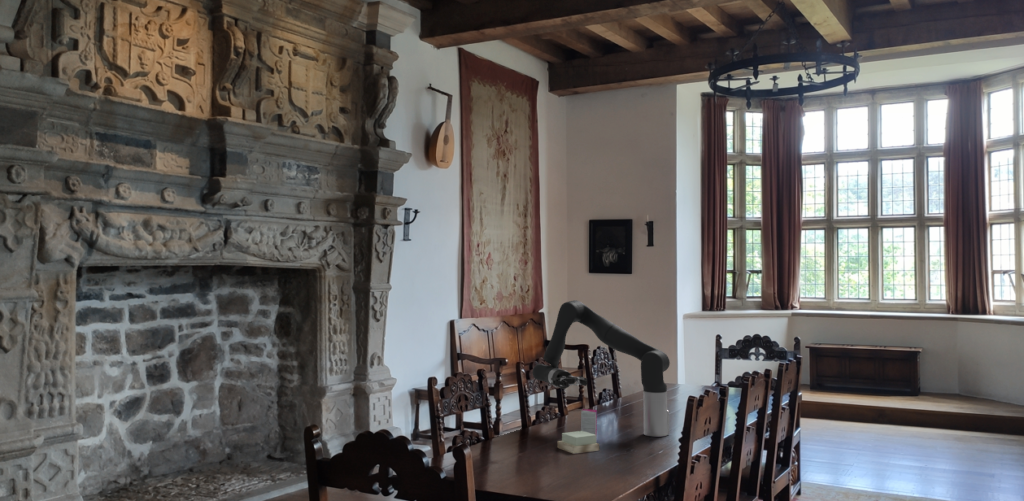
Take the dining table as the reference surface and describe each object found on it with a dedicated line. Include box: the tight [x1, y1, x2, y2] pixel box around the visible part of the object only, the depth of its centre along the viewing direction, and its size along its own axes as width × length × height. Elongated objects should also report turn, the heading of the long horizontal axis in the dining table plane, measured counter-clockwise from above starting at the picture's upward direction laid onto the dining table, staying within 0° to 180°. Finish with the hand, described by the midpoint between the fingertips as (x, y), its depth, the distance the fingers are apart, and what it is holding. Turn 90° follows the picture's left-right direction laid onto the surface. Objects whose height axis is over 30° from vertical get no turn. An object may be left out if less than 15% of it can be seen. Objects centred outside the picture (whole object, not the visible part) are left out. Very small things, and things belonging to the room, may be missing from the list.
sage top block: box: [561, 430, 597, 446], centre depth 281 cm, size 9×9×3 cm
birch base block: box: [557, 440, 600, 455], centre depth 281 cm, size 11×11×3 cm
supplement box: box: [580, 408, 598, 440], centre depth 297 cm, size 6×6×12 cm
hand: (576, 383), depth 307 cm, fingers open, 8 cm apart
